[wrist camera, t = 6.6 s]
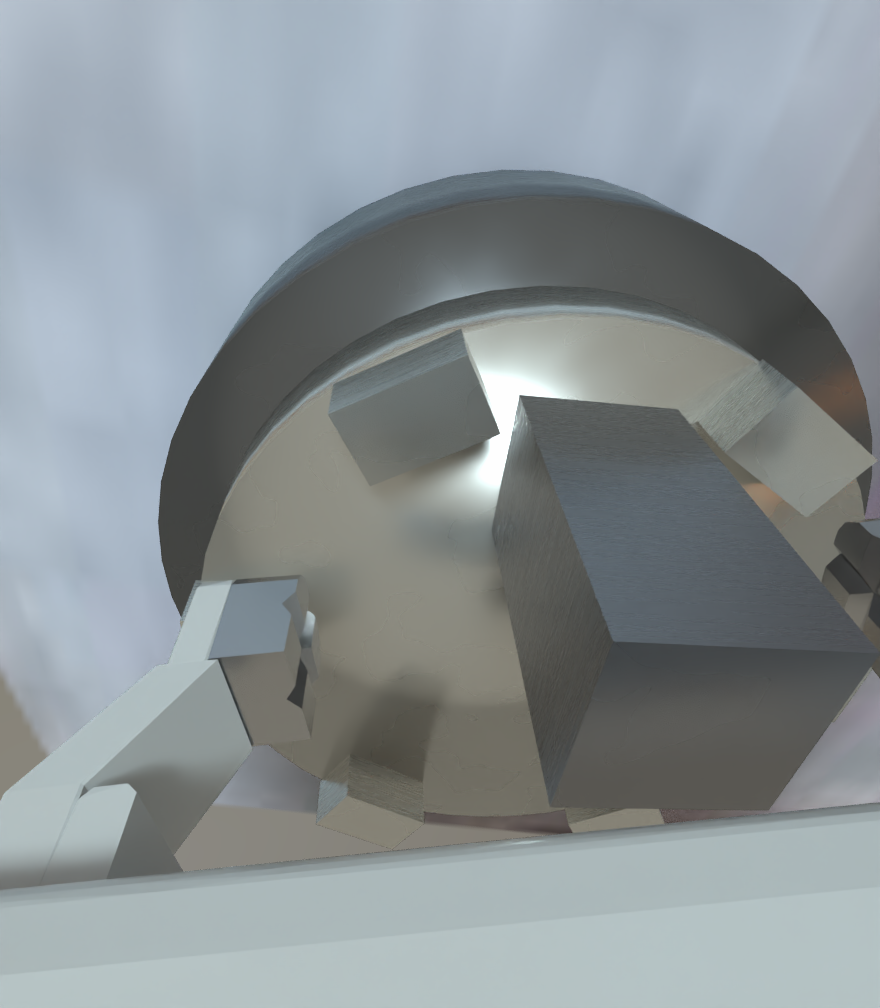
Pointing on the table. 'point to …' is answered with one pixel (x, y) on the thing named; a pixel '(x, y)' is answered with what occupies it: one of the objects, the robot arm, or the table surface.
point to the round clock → (553, 564)
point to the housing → (467, 271)
